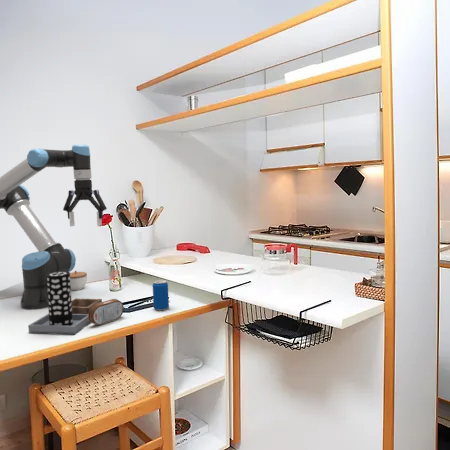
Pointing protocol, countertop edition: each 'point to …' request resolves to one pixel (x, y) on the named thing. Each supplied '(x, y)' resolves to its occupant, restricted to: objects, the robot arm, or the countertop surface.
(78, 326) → the tray
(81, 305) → the holder
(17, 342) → the countertop surface
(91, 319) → the tin
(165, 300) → the beverage can
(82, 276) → the lidded jar
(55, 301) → the white-spotted black cylinder
